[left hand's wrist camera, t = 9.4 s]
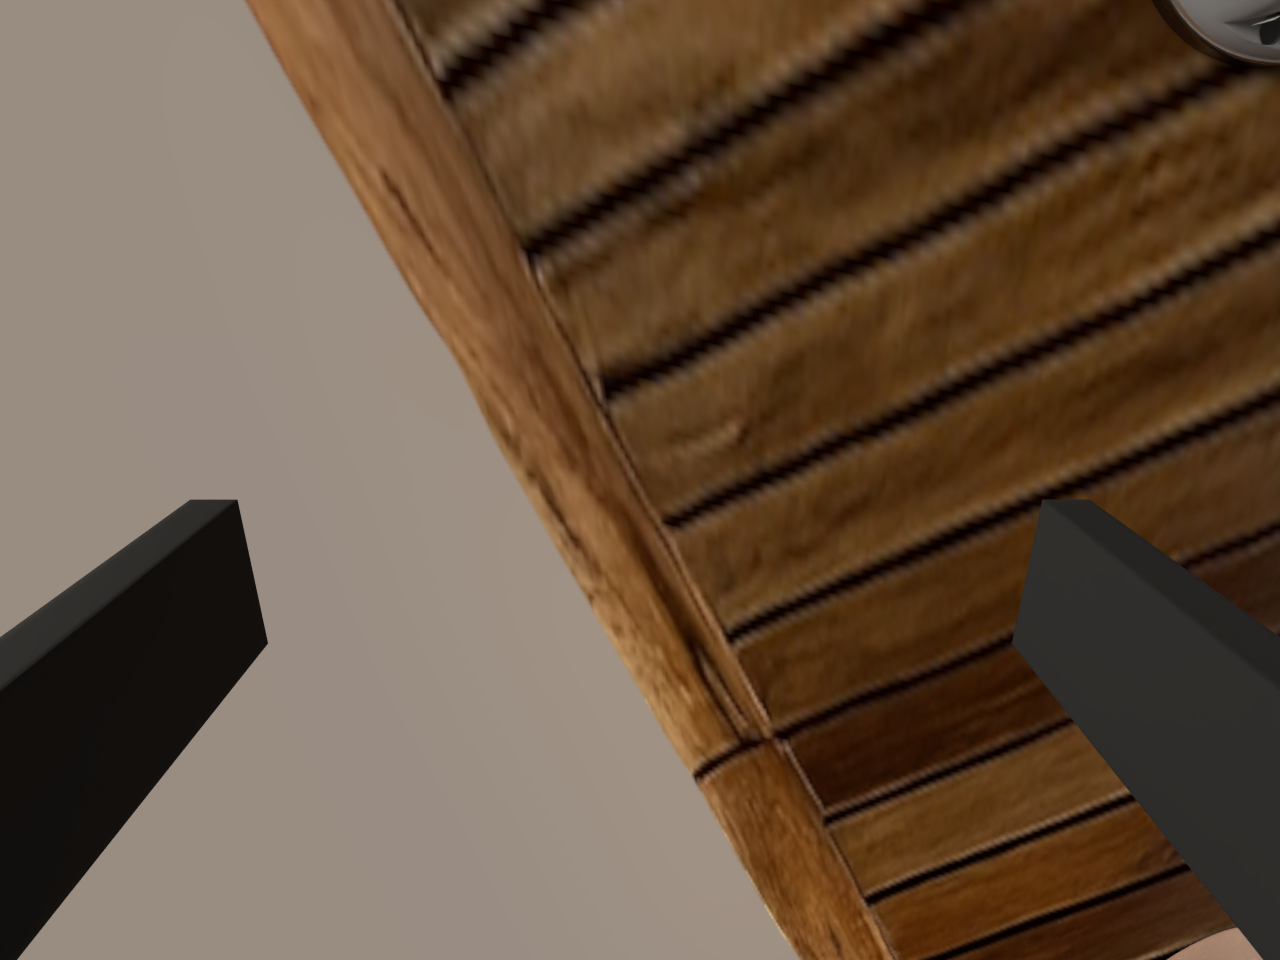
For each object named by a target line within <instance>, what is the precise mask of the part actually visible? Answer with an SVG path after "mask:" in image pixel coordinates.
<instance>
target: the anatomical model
mask: <svg viewBox="0 0 1280 960" xmlns="http://www.w3.org/2000/svg"><path fill="white" fill-rule="evenodd" d="M1167 960H1263V959H1262V958H1261V956H1260V955H1259V954H1258V953H1257V951H1256V950H1255V949H1254V948H1253V946H1252V945H1251V944H1250V943H1249V941H1248V940H1247V939H1246V938H1245V936H1244V935H1243V934H1242V933H1241V931H1240V930H1239V929H1238V927H1235V928H1232V929H1228V930H1225V931H1222V932H1219V933H1216V934H1214V935H1212V936H1209V937H1207V938H1204V939H1202V940H1200V941H1198V942H1196V943H1194V944H1192V945H1190V946H1189V947H1187V948H1185V949H1183V950H1181V951H1180V952H1178V953H1176V954H1175V955H1173V956H1172V957H1170V958H1169V959H1167Z"/></svg>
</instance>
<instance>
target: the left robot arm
mask: <svg viewBox="0 0 1280 960" xmlns="http://www.w3.org/2000/svg"><path fill="white" fill-rule="evenodd" d="M1153 2H1154V4H1155V6H1156V8H1157V9H1158V11H1159V12H1160V14H1161V15H1162V17H1163V18H1164V20H1165V21H1166V22H1167V23H1168V24H1169V26H1170V27H1171V28H1172V29H1173V30H1174V31H1175V32H1176V33H1177V34H1178V35H1179V36H1180V37H1181V38H1182V39H1183V40H1185V41H1186V42H1187V43H1189V44H1190V45H1192V46H1193V47H1194V48H1196V49H1197V50H1199V51H1201V52H1203V53H1205V54H1207V55H1209V56H1211V57H1214V58H1217V59H1219V60H1222V61H1225V62H1229V63H1234V64H1238V65H1246V66H1277V65H1280V0H1153ZM267 644H268V641H267V636H266V632H265V627H264V622H263V618H262V613H261V608H260V604H259V599H258V594H257V590H256V585H255V580H254V575H253V571H252V566H251V561H250V557H249V552H248V547H247V542H246V538H245V533H244V528H243V524H242V519H241V514H240V510H239V505H238V500H189V501H188V502H187V503H185V504H184V505H182V506H181V507H180V508H178V509H177V510H176V511H174V512H173V513H171V514H170V515H169V516H167V517H166V518H164V519H163V520H162V521H160V522H159V523H158V524H156V525H155V526H153V527H152V528H151V529H149V530H148V531H147V532H145V533H144V534H142V535H141V536H140V537H138V538H137V539H135V540H134V541H133V542H131V543H130V544H129V545H127V546H126V547H124V548H123V549H122V550H120V551H119V552H118V553H116V554H115V555H113V556H112V557H111V558H109V559H108V560H106V561H105V562H104V563H102V564H101V565H100V566H98V567H97V568H95V569H94V570H93V571H91V572H90V573H88V574H87V575H86V576H84V577H83V578H82V579H80V580H79V581H77V582H76V583H75V584H73V585H72V586H70V587H69V588H68V589H66V590H65V591H64V592H62V593H61V594H59V595H58V596H57V597H55V598H54V599H53V600H51V601H50V602H48V603H47V604H46V605H44V606H43V607H41V608H40V609H39V610H37V611H36V612H35V613H33V614H32V615H30V616H29V617H28V618H26V619H25V620H23V621H22V622H21V623H19V624H18V625H17V626H15V627H14V628H12V629H11V630H10V631H8V632H7V633H5V634H4V635H3V636H1V637H0V960H17V959H18V958H19V956H20V955H21V954H22V953H23V951H24V950H25V949H26V948H27V946H28V945H29V944H30V943H31V941H32V940H33V939H34V938H35V936H36V935H37V934H38V933H39V931H40V930H41V929H42V927H43V926H44V925H45V924H46V922H47V921H48V920H49V919H50V917H51V916H52V915H53V914H54V912H55V911H56V910H57V909H58V907H59V906H60V905H61V904H62V902H63V901H64V900H65V898H66V897H67V896H68V895H69V893H70V892H71V891H72V890H73V888H74V887H75V886H76V885H77V883H78V882H79V881H80V880H81V878H82V877H83V876H84V875H85V873H86V872H87V871H88V870H89V868H90V867H91V866H92V864H93V863H94V862H95V861H96V859H97V858H98V857H99V856H100V854H101V853H102V852H103V851H104V849H105V848H106V847H107V846H108V844H109V843H110V842H111V840H112V839H113V838H114V837H115V835H116V834H117V833H118V832H119V830H120V829H121V828H122V827H123V825H124V824H125V823H126V822H127V820H128V819H129V818H130V817H131V815H132V814H133V813H134V812H135V810H136V809H137V808H138V806H139V805H140V804H141V803H142V801H143V800H144V799H145V798H146V796H147V795H148V794H149V793H150V791H151V790H152V789H153V788H154V786H155V785H156V784H157V783H158V781H159V780H160V779H161V777H162V776H163V775H164V774H165V772H166V771H167V770H168V769H169V767H170V766H171V765H172V764H173V762H174V761H175V760H176V759H177V757H178V756H179V755H180V754H181V752H182V751H183V750H184V749H185V747H186V746H187V745H188V743H189V742H190V741H191V740H192V738H193V737H194V736H195V735H196V733H197V732H198V731H199V730H200V728H201V727H202V726H203V725H204V723H205V722H206V721H207V720H208V718H209V717H210V716H211V715H212V713H213V712H214V711H215V709H216V708H217V707H218V706H219V704H220V703H221V702H222V701H223V699H224V698H225V697H226V696H227V694H228V693H229V692H230V691H231V689H232V688H233V687H234V686H235V684H236V683H237V682H238V680H239V679H240V678H241V677H242V675H243V674H244V673H245V672H246V670H247V669H248V668H249V667H250V665H251V664H252V663H253V662H254V660H255V659H256V658H257V657H258V655H259V654H260V653H261V651H262V650H263V649H264V648H265V646H266V645H267ZM1012 644H1013V645H1014V646H1015V648H1016V649H1017V650H1018V652H1019V653H1020V654H1021V655H1022V657H1023V658H1024V659H1025V660H1026V662H1027V663H1028V664H1029V665H1030V667H1031V668H1032V669H1033V670H1034V672H1035V673H1036V674H1037V675H1038V677H1039V678H1040V679H1041V680H1042V682H1043V683H1044V684H1045V686H1046V687H1047V688H1048V689H1049V691H1050V692H1051V693H1052V694H1053V696H1054V697H1055V698H1056V699H1057V701H1058V702H1059V703H1060V704H1061V706H1062V707H1063V708H1064V709H1065V711H1066V712H1067V713H1068V715H1069V716H1070V717H1071V718H1072V720H1073V721H1074V722H1075V723H1076V725H1077V726H1078V727H1079V728H1080V730H1081V731H1082V732H1083V733H1084V735H1085V736H1086V737H1087V738H1088V740H1089V741H1090V742H1091V744H1092V745H1093V746H1094V747H1095V749H1096V750H1097V751H1098V752H1099V754H1100V755H1101V756H1102V757H1103V759H1104V760H1105V761H1106V762H1107V764H1108V765H1109V766H1110V767H1111V769H1112V770H1113V771H1114V772H1115V774H1116V775H1117V776H1118V778H1119V779H1120V780H1121V781H1122V783H1123V784H1124V785H1125V786H1126V788H1127V789H1128V790H1129V791H1130V793H1131V794H1132V795H1133V796H1134V798H1135V799H1136V800H1137V801H1138V803H1139V804H1140V805H1141V807H1142V808H1143V809H1144V810H1145V812H1146V813H1147V814H1148V815H1149V817H1150V818H1151V819H1152V820H1153V822H1154V823H1155V824H1156V825H1157V827H1158V828H1159V829H1160V830H1161V832H1162V833H1163V834H1164V835H1165V837H1166V838H1167V839H1168V841H1169V842H1170V843H1171V844H1172V846H1173V847H1174V848H1175V849H1176V851H1177V852H1178V853H1179V854H1180V856H1181V857H1182V858H1183V859H1184V861H1185V862H1186V863H1187V864H1188V866H1189V867H1190V868H1191V870H1192V871H1193V872H1194V873H1195V875H1196V876H1197V877H1198V878H1199V880H1200V881H1201V882H1202V883H1203V885H1204V886H1205V887H1206V888H1207V890H1208V891H1209V892H1210V893H1211V895H1212V896H1213V897H1214V899H1215V900H1216V901H1217V902H1218V904H1219V905H1220V906H1221V907H1222V909H1223V910H1224V911H1225V912H1226V914H1227V915H1228V916H1229V917H1230V919H1231V920H1232V921H1233V922H1234V924H1235V925H1236V926H1237V927H1238V929H1239V930H1240V931H1241V933H1242V934H1243V935H1244V936H1245V938H1246V939H1247V940H1248V941H1249V943H1250V944H1251V945H1252V946H1253V948H1254V949H1255V950H1256V951H1257V953H1258V954H1259V955H1260V956H1261V958H1262V959H1263V960H1280V637H1279V636H1277V635H1276V634H1275V633H1273V632H1272V631H1270V630H1269V629H1268V628H1266V627H1265V626H1263V625H1262V624H1261V623H1259V622H1258V621H1257V620H1255V619H1254V618H1252V617H1251V616H1250V615H1248V614H1247V613H1246V612H1244V611H1243V610H1241V609H1240V608H1239V607H1237V606H1236V605H1234V604H1233V603H1232V602H1230V601H1229V600H1228V599H1226V598H1225V597H1223V596H1222V595H1221V594H1219V593H1218V592H1216V591H1215V590H1214V589H1212V588H1211V587H1210V586H1208V585H1207V584H1205V583H1204V582H1203V581H1201V580H1200V579H1199V578H1197V577H1196V576H1194V575H1193V574H1192V573H1190V572H1189V571H1187V570H1186V569H1185V568H1183V567H1182V566H1181V565H1179V564H1178V563H1176V562H1175V561H1174V560H1172V559H1171V558H1169V557H1168V556H1167V555H1165V554H1164V553H1163V552H1161V551H1160V550H1158V549H1157V548H1156V547H1154V546H1153V545H1151V544H1150V543H1149V542H1147V541H1146V540H1145V539H1143V538H1142V537H1140V536H1139V535H1138V534H1136V533H1135V532H1134V531H1132V530H1131V529H1129V528H1128V527H1127V526H1125V525H1124V524H1122V523H1121V522H1120V521H1118V520H1117V519H1116V518H1114V517H1113V516H1111V515H1110V514H1109V513H1107V512H1106V511H1104V510H1103V509H1102V508H1100V507H1099V506H1098V505H1096V504H1095V503H1093V502H1092V501H1091V500H1042V505H1041V510H1040V514H1039V519H1038V524H1037V528H1036V533H1035V538H1034V542H1033V547H1032V552H1031V557H1030V561H1029V566H1028V571H1027V575H1026V580H1025V585H1024V589H1023V594H1022V599H1021V603H1020V608H1019V613H1018V618H1017V622H1016V627H1015V632H1014V636H1013V641H1012Z"/></svg>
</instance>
